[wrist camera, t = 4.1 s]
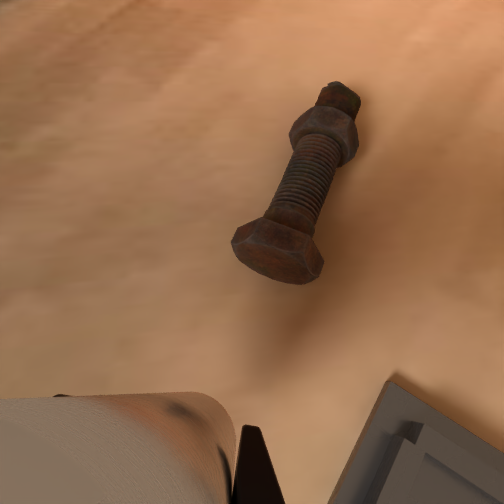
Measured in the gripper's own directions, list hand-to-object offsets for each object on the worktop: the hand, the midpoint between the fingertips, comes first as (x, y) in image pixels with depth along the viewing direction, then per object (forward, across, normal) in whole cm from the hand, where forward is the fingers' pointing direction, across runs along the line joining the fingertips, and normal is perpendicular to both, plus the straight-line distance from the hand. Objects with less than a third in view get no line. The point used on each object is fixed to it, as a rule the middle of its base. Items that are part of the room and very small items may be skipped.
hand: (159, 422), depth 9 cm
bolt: (+21, -4, -1) cm, 21 cm away
